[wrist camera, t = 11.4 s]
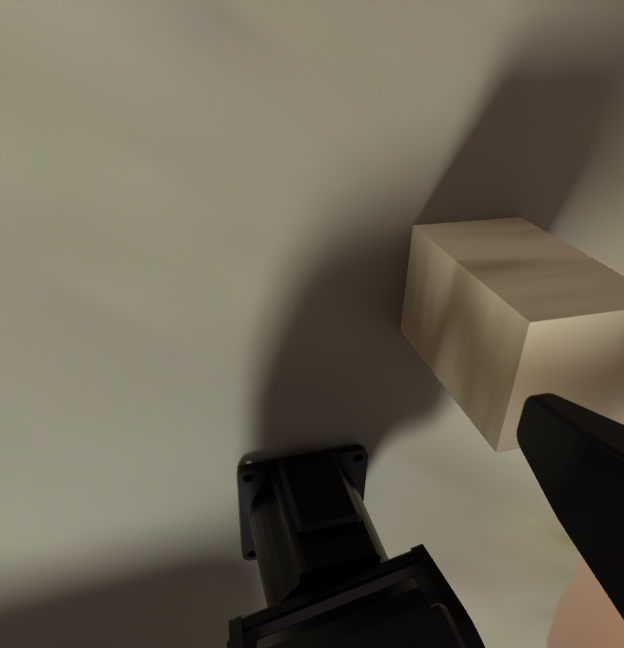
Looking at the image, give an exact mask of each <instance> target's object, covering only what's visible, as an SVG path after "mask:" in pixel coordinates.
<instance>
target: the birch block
mask: <svg viewBox="0 0 624 648" xmlns="http://www.w3.org/2000/svg"><path fill="white" fill-rule="evenodd" d="M400 331H401V333H402V334H403V335H404V336H405V338H406V339H407V340H408V342H409V343H410V344H411V345H412V347H413V348H414V349H415V350H416V352H417V353H418V354H419V355H420V357H421V358H422V359H423V361H424V362H425V363H426V364H427V366H428V367H429V368H430V369H431V371H432V372H433V373H434V374H435V376H436V377H437V378H438V380H439V381H440V382H441V383H442V385H443V386H444V387H445V388H446V390H447V391H448V392H449V394H450V395H451V396H452V397H453V399H454V400H455V401H456V402H457V404H458V405H459V406H460V407H461V409H462V410H463V411H464V413H465V414H466V415H467V416H468V418H469V419H470V420H471V421H472V423H473V424H474V425H475V426H476V428H477V429H478V430H479V432H480V433H481V434H482V435H483V437H484V438H485V439H486V440H487V442H488V443H489V444H490V446H491V447H492V448H493V449H494V451H495V452H501V451H507V450H512V449H517V448H520V446H519V444H518V441H517V436H516V431H517V427H518V423H519V420H520V416H521V412H522V409H523V405H524V402H525V400H526V399H527V398H528V397H529V396H531V395H536V394H542V393H553V394H555V395H558V396H560V397H562V398H564V399H567V400H569V401H571V402H573V403H576V404H578V405H580V406H582V407H585V408H587V409H589V410H591V411H594V412H596V413H598V414H601V415H603V416H605V417H607V418H610V419H612V420H614V421H616V422H619V423H621V424H623V422H624V276H622V275H620V274H619V273H617V272H615V271H613V270H612V269H610V268H608V267H607V266H605V265H603V264H601V263H600V262H598V261H596V260H594V259H593V258H591V257H589V256H587V255H586V254H584V253H582V252H581V251H579V250H577V249H575V248H574V247H572V246H570V245H568V244H567V243H565V242H563V241H561V240H560V239H558V238H556V237H555V236H553V235H551V234H549V233H548V232H546V231H544V230H542V229H541V228H539V227H537V226H535V225H534V224H532V223H530V222H529V221H527V220H525V219H523V218H522V217H514V218H501V219H488V220H475V221H462V222H450V223H437V224H424V225H413V230H412V238H411V246H410V255H409V263H408V271H407V279H406V287H405V295H404V303H403V311H402V319H401V327H400Z"/></svg>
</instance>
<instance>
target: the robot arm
mask: <svg viewBox="0 0 624 648" xmlns="http://www.w3.org/2000/svg"><path fill="white" fill-rule="evenodd" d="M516 436H517V441H518V444H519V446H520V448H521V450H522V452H523V454H524V456H525V458H526V460H527V462H528V463H529V465H530V467H531V469H532V471H533V473H534V475H535V477H536V479H537V481H538V482H539V484H540V486H541V488H542V490H543V492H544V494H545V496H546V498H547V500H548V502H549V503H550V505H551V507H552V509H553V511H554V513H555V514H556V516H557V518H558V520H559V521H560V523H561V525H562V526H563V528H564V529H565V531H566V533H567V534H568V536H569V537H570V539H571V540H572V542H573V543H574V545H575V546H576V548H577V549H578V551H579V552H580V554H581V555H582V557H583V558H584V560H585V562H586V563H587V564H588V566H589V568H590V569H591V570H592V572H593V574H594V575H595V577H596V578H597V580H598V581H599V583H600V584H601V586H602V587H603V589H604V591H605V592H606V594H607V595H608V597H609V598H610V599H611V601H612V602H613V604H614V606H615V607H616V609H617V610H618V612H619V613H620V615H621V616H622V618H623V619H624V425H623V424H621V423H619V422H616V421H614V420H612V419H610V418H607V417H605V416H603V415H601V414H598V413H596V412H594V411H591V410H589V409H587V408H585V407H582V406H580V405H578V404H576V403H573V402H571V401H569V400H567V399H564V398H562V397H560V396H558V395H555V394H553V393H542V394H536V395H531V396H529V397H528V398H527V399H526V400H525V402H524V405H523V409H522V412H521V416H520V420H519V423H518V427H517V431H516ZM358 454H359V455H358ZM356 455H357V456H356ZM367 460H368V454H367V452H366V450H365V448H364V447H363V446H362V445H353V446H348V447H342V448H337V449H331V450H325V451H320V452H314V453H309V454H303V455H297V456H292V457H286V458H281V459H275V460H269V461H264V462H258V463H253V464H247V465H244V466H242V467H240V468H239V469H238V471H237V488H238V503H239V519H240V535H241V550H242V555H243V558H244V559H245V560H255V559H257V561H258V566H259V570H260V575H261V580H262V584H263V589H264V594H265V598H266V603H267V607H268V608H265V609H263V610H260V611H258V612H255V613H253V614H250V615H248V616H245V617H242V616H239V617H237V618H234V619H231V620H229V634H230V640H227V648H485V646H484V644H483V642H482V640H481V638H480V636H479V634H478V631H477V629H476V628H475V626H474V624H473V622H472V620H471V618H470V617H469V615H468V613H467V612H466V610H465V608H464V607H463V605H462V604H461V602H460V601H459V599H458V598H457V596H456V594H455V593H454V591H453V590H452V588H451V587H450V585H449V584H448V582H447V581H446V579H445V578H444V576H443V574H442V573H441V571H440V570H439V568H438V567H437V565H436V564H435V562H434V561H433V559H432V558H431V556H430V555H429V553H428V551H427V550H426V548H425V547H424V545H423V544H420V545H418V546H415V547H413V548H411V551H409V552H406V553H404V554H401V555H399V556H396V557H394V558H391V559H388V557H387V554H386V552H385V550H384V548H383V545H382V543H381V541H380V539H379V537H378V534H377V532H376V530H375V528H374V525H373V523H372V521H371V519H370V517H369V514H368V512H367V510H366V508H365V505H364V503H363V499H364V489H365V480H366V470H367ZM248 474H251V475H249V476H245V475H248Z"/></svg>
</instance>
